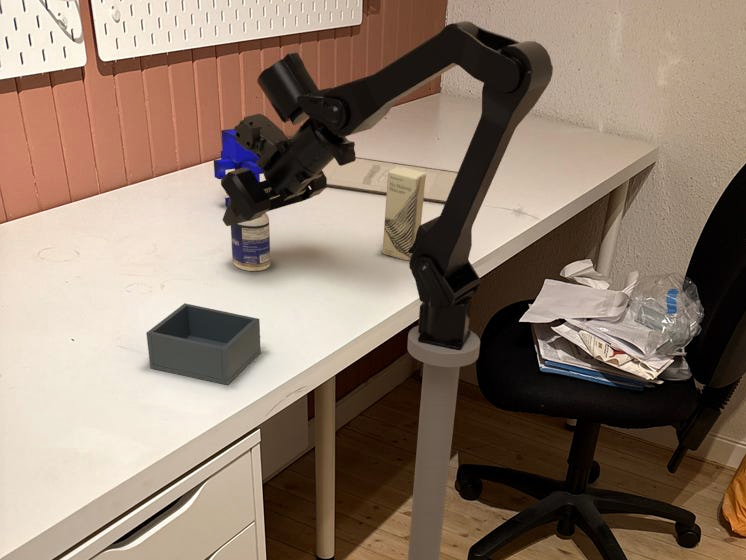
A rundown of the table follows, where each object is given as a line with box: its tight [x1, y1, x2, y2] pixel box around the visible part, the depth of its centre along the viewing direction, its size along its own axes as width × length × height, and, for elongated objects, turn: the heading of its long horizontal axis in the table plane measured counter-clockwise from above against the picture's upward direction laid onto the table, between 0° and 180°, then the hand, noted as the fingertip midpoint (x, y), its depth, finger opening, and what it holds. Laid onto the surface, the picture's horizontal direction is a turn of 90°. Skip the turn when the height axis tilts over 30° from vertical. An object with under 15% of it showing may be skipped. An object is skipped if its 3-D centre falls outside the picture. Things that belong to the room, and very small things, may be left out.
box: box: [382, 166, 426, 261], centre depth 154 cm, size 5×4×13 cm
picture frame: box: [322, 156, 458, 203], centre depth 189 cm, size 22×1×30 cm
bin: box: [146, 302, 261, 386], centre depth 120 cm, size 10×10×5 cm
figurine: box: [213, 128, 264, 207], centre depth 162 cm, size 8×8×12 cm
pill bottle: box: [230, 212, 271, 272], centre depth 144 cm, size 6×6×10 cm
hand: (244, 215), depth 142 cm, fingers open, 9 cm apart
